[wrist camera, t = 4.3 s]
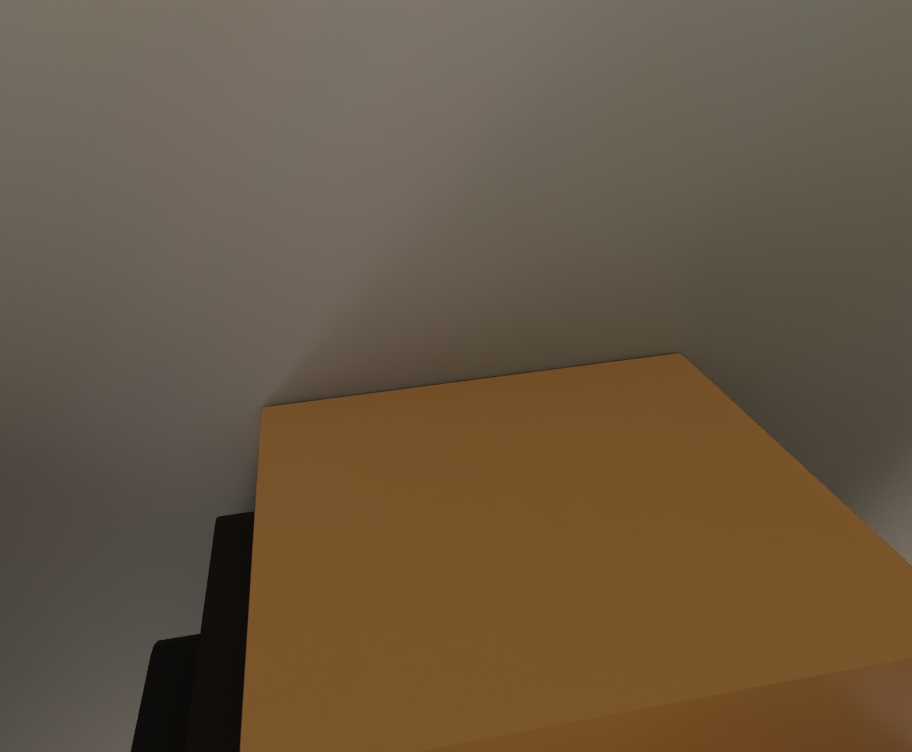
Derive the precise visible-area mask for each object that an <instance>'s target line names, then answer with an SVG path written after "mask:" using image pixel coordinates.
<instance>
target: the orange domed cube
mask: <svg viewBox="0 0 912 752" xmlns="http://www.w3.org/2000/svg"><path fill="white" fill-rule="evenodd" d="M240 752H912V566H911V565H910V564H909V563H908V562H907V561H906V560H905V559H904V558H903V557H902V556H900V555H899V554H898V553H897V552H896V551H895V550H894V549H893V548H892V547H891V546H890V545H888V544H887V543H886V542H885V541H884V540H883V539H882V538H881V537H880V536H879V535H878V534H877V533H875V532H874V531H873V530H872V529H871V528H870V527H869V526H868V525H867V524H866V523H865V522H863V521H862V520H861V519H860V518H859V517H858V516H857V515H856V514H855V513H854V512H853V511H852V510H850V509H849V508H848V507H847V506H846V505H845V504H844V503H843V502H842V501H841V500H840V499H839V498H837V497H836V496H835V495H834V494H833V493H832V492H831V491H830V490H829V489H828V488H827V487H825V486H824V485H823V484H822V483H821V482H820V481H819V480H818V479H817V478H816V477H815V476H814V475H812V474H811V473H810V472H809V471H808V470H807V469H806V468H805V467H804V466H803V465H802V464H801V463H799V462H798V461H797V460H796V459H795V458H794V457H793V456H792V455H791V454H790V453H789V452H787V451H786V450H785V449H784V448H783V447H782V446H781V445H780V444H779V443H778V442H777V441H776V440H774V439H773V438H772V437H771V436H770V435H769V434H768V433H767V432H766V431H765V430H764V429H763V428H761V427H760V426H759V425H758V424H757V423H756V422H755V421H754V420H753V419H752V418H751V417H749V416H748V415H747V414H746V413H745V412H744V411H743V410H742V409H741V408H740V407H739V406H738V405H736V404H735V403H734V402H733V401H732V400H731V399H730V398H729V397H728V396H727V395H726V394H724V393H723V392H722V391H721V390H720V389H719V388H718V387H717V386H716V385H715V384H714V383H713V382H711V381H710V380H709V379H708V378H707V377H706V376H705V375H704V374H703V373H702V372H701V371H700V370H698V369H697V368H696V367H695V366H694V365H693V364H692V363H691V362H690V361H689V360H688V359H686V358H685V357H684V356H683V355H682V354H681V353H676V354H668V355H660V356H653V357H645V358H637V359H630V360H622V361H614V362H607V363H599V364H591V365H584V366H576V367H568V368H561V369H553V370H545V371H538V372H530V373H522V374H515V375H507V376H499V377H492V378H484V379H476V380H469V381H461V382H453V383H446V384H438V385H430V386H423V387H415V388H407V389H400V390H392V391H384V392H377V393H369V394H361V395H354V396H346V397H338V398H331V399H323V400H315V401H308V402H300V403H292V404H285V405H277V406H269V407H262V408H261V423H260V439H259V455H258V471H257V487H256V503H255V519H254V535H253V551H252V567H251V582H250V598H249V614H248V630H247V646H246V662H245V678H244V694H243V710H242V726H241V741H240Z"/></svg>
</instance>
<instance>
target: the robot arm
mask: <svg viewBox="0 0 912 752" xmlns="http://www.w3.org/2000/svg"><path fill="white" fill-rule="evenodd" d="M254 519H255V511H254V512H247V513H240V514H233V515H226V516H220V517H217V518H216V523H215V530H214V537H213V545H212V552H211V559H210V567H209V574H208V581H207V589H206V596H205V604H204V611H203V618H202V626H201V633H200V634H195V635H189V636H183V637H177V638H171V639H165V640H159V641H157V642H156V643H155V645H154V646H153V650H152V653H151V656H150V661H149V666H148V671H147V676H146V681H145V686H144V690H143V695H142V700H141V705H140V710H139V715H138V720H137V724H136V729H135V734H134V739H133V744H132V749H131V752H240V741H241V726H242V710H243V694H244V678H245V662H246V646H247V630H248V614H249V598H250V582H251V567H252V551H253V535H254Z"/></svg>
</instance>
